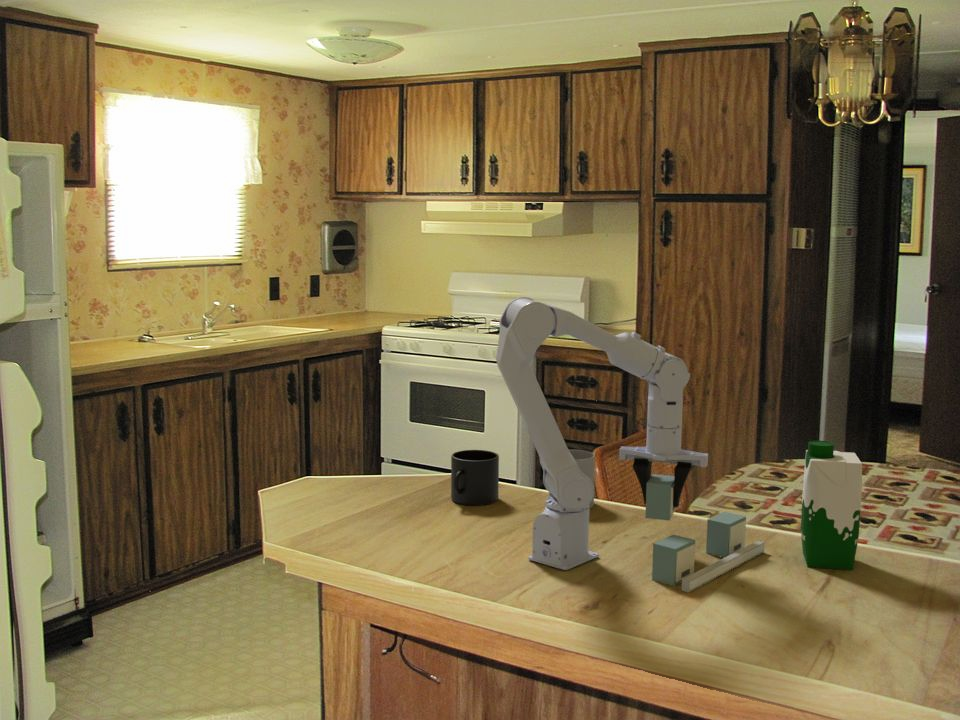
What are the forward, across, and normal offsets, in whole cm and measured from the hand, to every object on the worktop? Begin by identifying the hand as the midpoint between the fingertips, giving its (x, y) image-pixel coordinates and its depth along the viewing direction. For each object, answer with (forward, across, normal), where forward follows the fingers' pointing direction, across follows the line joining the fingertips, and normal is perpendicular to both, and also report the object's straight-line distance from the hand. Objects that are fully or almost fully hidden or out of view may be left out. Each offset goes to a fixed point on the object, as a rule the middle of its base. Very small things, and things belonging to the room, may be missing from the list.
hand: (661, 504), depth 174 cm
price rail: (+8, +11, -5) cm, 15 cm away
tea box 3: (+8, +10, +4) cm, 14 cm away
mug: (+9, -40, +18) cm, 45 cm away
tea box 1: (+2, 0, 0) cm, 2 cm away
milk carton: (+9, +27, +5) cm, 29 cm away
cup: (+9, -21, +23) cm, 32 cm away
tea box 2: (+8, +4, -11) cm, 15 cm away
